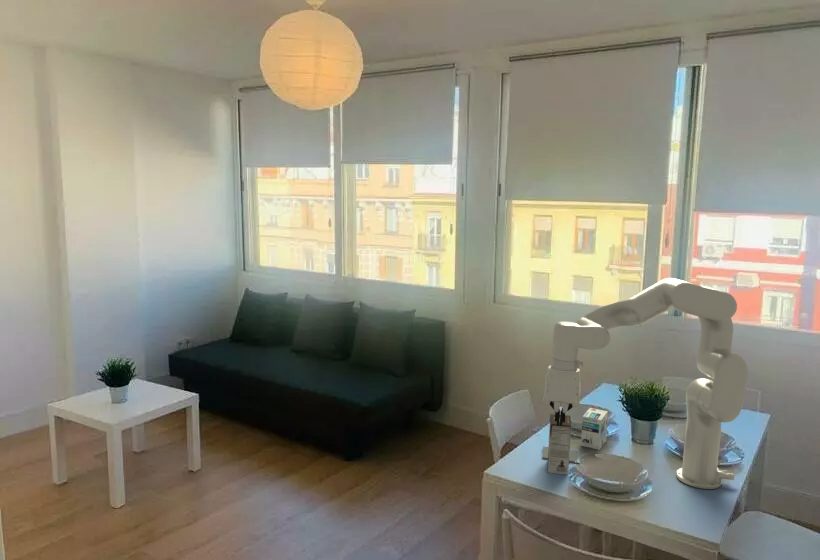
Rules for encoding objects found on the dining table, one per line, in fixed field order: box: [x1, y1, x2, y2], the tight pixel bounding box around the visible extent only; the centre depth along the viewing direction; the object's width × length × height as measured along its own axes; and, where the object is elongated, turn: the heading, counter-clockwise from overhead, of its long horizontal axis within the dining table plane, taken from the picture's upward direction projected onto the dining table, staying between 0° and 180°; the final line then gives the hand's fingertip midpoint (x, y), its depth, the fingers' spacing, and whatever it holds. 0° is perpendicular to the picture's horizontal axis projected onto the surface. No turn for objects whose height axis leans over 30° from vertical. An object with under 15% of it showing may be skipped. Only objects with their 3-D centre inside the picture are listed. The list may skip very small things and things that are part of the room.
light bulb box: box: [580, 407, 609, 451], centre depth 212 cm, size 11×7×11 cm, turn 150°
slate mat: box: [541, 446, 581, 464], centre depth 202 cm, size 12×9×1 cm
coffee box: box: [547, 413, 572, 475], centre depth 192 cm, size 9×6×16 cm
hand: (559, 424), depth 180 cm, fingers closed
